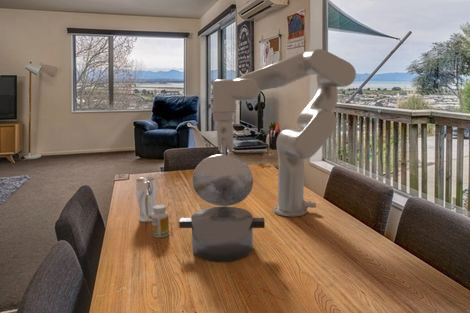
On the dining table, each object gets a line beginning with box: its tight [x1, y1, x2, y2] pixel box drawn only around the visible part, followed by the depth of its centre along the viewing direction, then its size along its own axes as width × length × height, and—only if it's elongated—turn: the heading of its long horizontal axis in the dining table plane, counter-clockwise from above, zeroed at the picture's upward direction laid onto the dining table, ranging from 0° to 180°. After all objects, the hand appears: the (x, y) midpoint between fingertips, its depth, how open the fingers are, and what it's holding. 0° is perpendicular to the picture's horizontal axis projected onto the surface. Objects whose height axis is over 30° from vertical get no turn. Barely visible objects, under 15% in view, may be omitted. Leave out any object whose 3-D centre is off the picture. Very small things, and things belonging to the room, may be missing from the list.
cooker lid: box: [192, 153, 254, 207], centre depth 116 cm, size 19×19×3 cm
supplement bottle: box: [151, 204, 170, 239], centre depth 121 cm, size 5×5×10 cm
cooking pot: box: [178, 206, 266, 263], centre depth 111 cm, size 25×18×10 cm
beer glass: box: [135, 176, 157, 223], centre depth 135 cm, size 7×7×15 cm
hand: (225, 169), depth 129 cm, fingers closed
